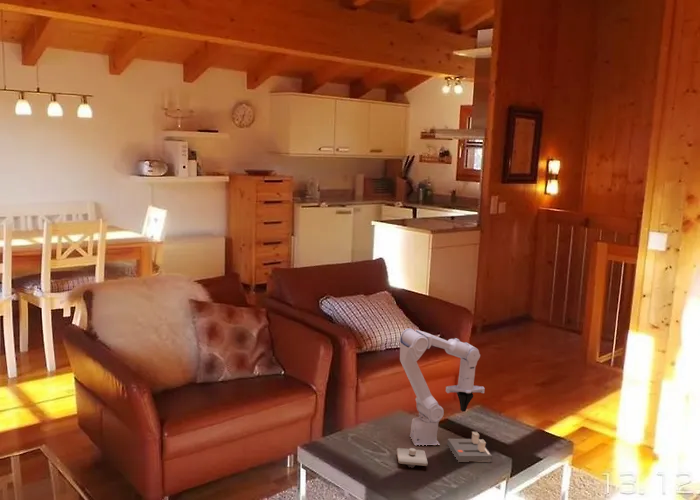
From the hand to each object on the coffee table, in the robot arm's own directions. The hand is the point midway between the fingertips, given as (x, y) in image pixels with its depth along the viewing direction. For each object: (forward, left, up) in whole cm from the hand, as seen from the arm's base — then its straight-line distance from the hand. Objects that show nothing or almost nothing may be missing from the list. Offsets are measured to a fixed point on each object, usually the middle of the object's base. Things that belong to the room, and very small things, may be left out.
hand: (462, 410), depth 245 cm
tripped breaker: (+2, -17, -8) cm, 18 cm away
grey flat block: (-1, -14, -10) cm, 17 cm away
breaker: (+2, -11, -8) cm, 13 cm away
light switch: (-24, -20, -11) cm, 33 cm away
